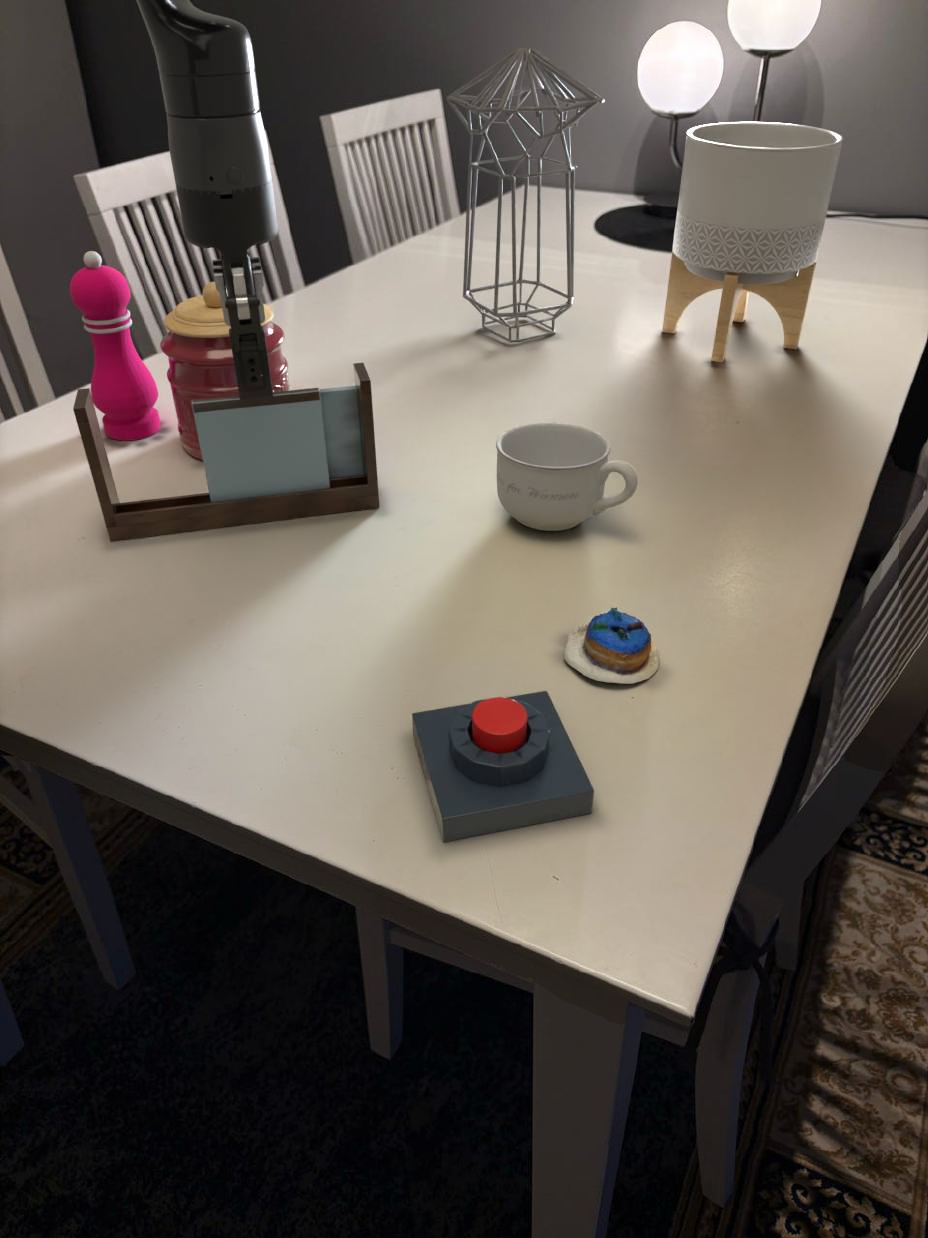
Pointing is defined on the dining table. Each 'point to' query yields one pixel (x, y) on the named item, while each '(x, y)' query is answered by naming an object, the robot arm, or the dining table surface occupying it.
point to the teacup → (557, 475)
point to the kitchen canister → (209, 358)
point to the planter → (750, 221)
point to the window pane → (262, 440)
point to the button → (499, 725)
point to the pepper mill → (114, 353)
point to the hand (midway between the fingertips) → (254, 384)
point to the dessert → (613, 649)
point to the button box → (500, 771)
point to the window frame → (348, 491)
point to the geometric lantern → (532, 65)
